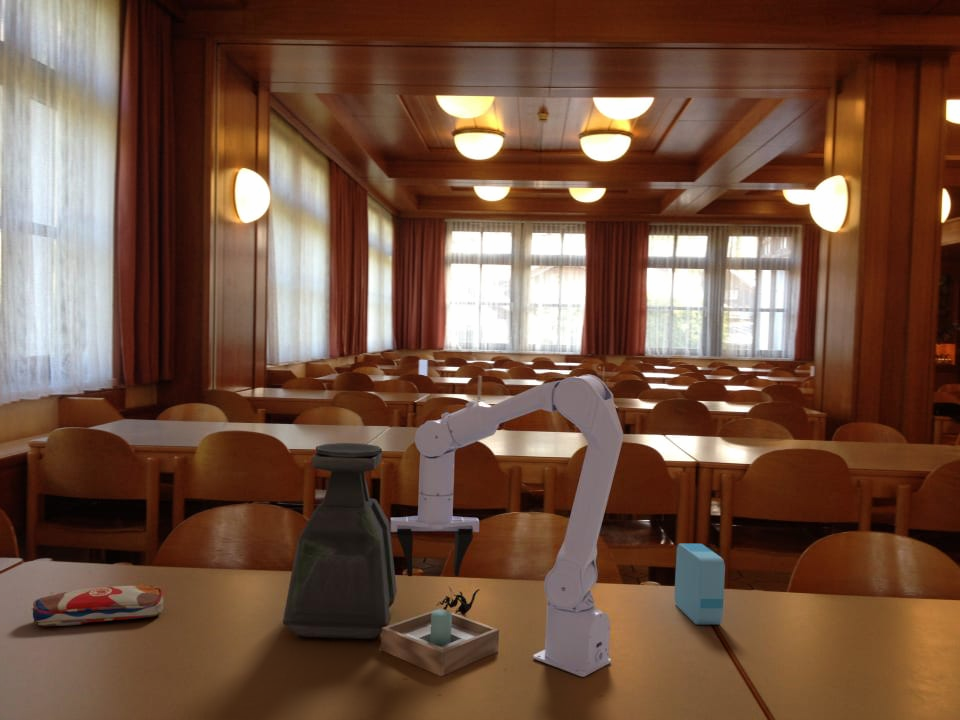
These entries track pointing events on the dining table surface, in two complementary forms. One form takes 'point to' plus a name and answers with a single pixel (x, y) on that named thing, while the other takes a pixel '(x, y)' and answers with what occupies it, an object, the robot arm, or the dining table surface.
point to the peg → (441, 627)
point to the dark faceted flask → (343, 554)
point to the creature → (464, 605)
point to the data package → (699, 583)
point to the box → (416, 648)
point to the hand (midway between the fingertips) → (432, 574)
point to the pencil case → (98, 605)
